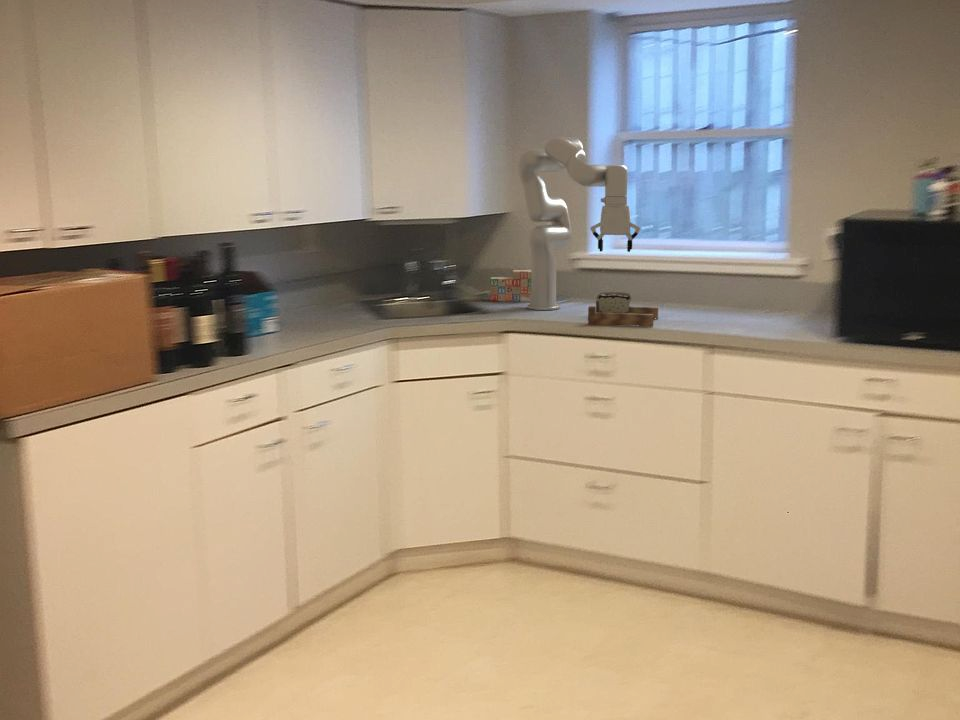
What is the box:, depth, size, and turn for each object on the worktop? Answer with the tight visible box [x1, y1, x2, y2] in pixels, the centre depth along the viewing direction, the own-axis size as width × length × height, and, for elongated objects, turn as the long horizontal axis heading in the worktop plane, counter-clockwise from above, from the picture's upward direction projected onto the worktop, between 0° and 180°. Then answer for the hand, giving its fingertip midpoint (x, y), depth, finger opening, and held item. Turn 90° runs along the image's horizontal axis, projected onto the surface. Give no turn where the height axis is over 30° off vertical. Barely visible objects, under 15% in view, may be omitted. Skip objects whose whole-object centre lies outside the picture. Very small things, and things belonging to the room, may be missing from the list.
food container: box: [596, 291, 633, 313], centre depth 350 cm, size 12×6×10 cm, turn 71°
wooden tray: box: [587, 299, 659, 327], centre depth 350 cm, size 22×20×6 cm
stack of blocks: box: [489, 269, 531, 302], centre depth 405 cm, size 21×6×12 cm, turn 85°
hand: (614, 251), depth 347 cm, fingers open, 9 cm apart
